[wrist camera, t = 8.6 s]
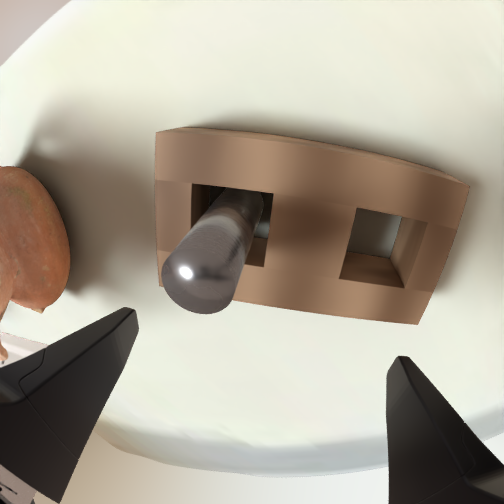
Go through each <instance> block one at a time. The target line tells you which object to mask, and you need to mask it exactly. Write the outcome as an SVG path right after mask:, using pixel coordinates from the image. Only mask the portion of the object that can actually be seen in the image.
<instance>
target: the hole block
mask: <svg viewBox="0 0 504 504" xmlns="http://www.w3.org/2000/svg"><path fill="white" fill-rule="evenodd" d="M210 185H212V186H221V187H229V188H237V189H245V190H253V191H260V192H267V193H274V196H273V204H272V211H271V219H270V226H269V234H268V239H264V238H257V237H254V238H253V241H252V244H251V246H250V249H249V252H248V255H247V258H246V261H245V264H244V267H243V270H242V273H241V276H240V279H239V282H238V285H237V288H236V291H235V293H234V296H233V299H232V300H235V301H240V302H246V303H252V304H258V305H264V306H271V307H277V308H284V309H290V310H297V311H304V312H311V313H318V314H326V315H333V316H341V317H349V318H357V319H366V320H375V321H384V322H393V323H404V324H414V325H418V323H419V321H420V319H421V317H422V315H423V313H424V311H425V309H426V307H427V305H428V303H429V300H430V298H431V296H432V294H433V291H434V289H435V287H436V285H437V282H438V280H439V277H440V275H441V273H442V270H443V268H444V265H445V262H446V260H447V257H448V255H449V252H450V249H451V246H452V244H453V241H454V238H455V235H456V232H457V229H458V226H459V223H460V220H461V216H462V213H463V210H464V206H465V203H466V199H467V196H468V192H469V188H470V186H468V185H467V184H465V183H463V182H461V181H459V180H457V179H456V178H454V177H452V176H450V175H448V174H446V173H444V172H442V171H439V170H436V169H433V168H429V167H426V166H423V165H419V164H416V163H412V162H408V161H405V160H401V159H397V158H393V157H389V156H385V155H381V154H377V153H373V152H368V151H364V150H359V149H354V148H350V147H345V146H340V145H334V144H329V143H324V142H318V141H312V140H306V139H299V138H293V137H286V136H278V135H271V134H262V133H253V132H244V131H233V130H221V129H206V128H187V127H181V128H176V129H170V130H165V131H160V132H156V146H155V217H156V243H157V261H158V275H159V286H161V287H164V286H163V283H162V278H161V271H162V267H163V264H164V262H165V260H166V259H167V258H168V256H169V255H170V254H171V253H172V251H173V250H174V249H175V248H176V247H177V245H178V244H179V243H180V242H181V240H182V239H183V238H184V237H185V236H186V234H187V233H188V232H189V231H190V230H191V228H192V227H193V226H194V225H195V224H196V223H197V221H198V220H199V219H200V218H201V217H202V216H203V214H204V213H205V212H206V211H207V210H208V209H209V200H210ZM357 207H358V208H363V209H368V210H373V211H378V212H383V213H388V214H392V215H397V216H402V219H401V223H400V226H399V230H398V233H397V237H396V240H395V243H394V246H393V250H392V253H391V256H390V259H388V258H382V257H376V256H370V255H364V254H358V253H352V252H346V250H347V246H348V242H349V238H350V234H351V230H352V226H353V222H354V218H355V214H356V209H357Z"/></svg>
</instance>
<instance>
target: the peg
mask: <svg viewBox="0 0 504 504" xmlns="http://www.w3.org/2000/svg"><path fill="white" fill-rule="evenodd" d="M263 207H264V202H263V198H262V195H261V194H260V192H259V191H253V190H245V189H237V188H229V187H227V188H226V189H225V190H224V191H223V193H222V194H221V195H220V196H219V197H218V198H217V199H216V201H215V202H214V203H213V204H212V205H211V206H210V207H209V209H208V210H207V211H206V212H205V213H204V214H203V216H202V217H201V218H200V219H199V220H198V221H197V223H196V224H195V225H194V226H193V227H192V228H191V230H190V231H189V232H188V233H187V234H186V236H185V237H184V238H183V239H182V240H181V242H180V243H179V244H178V245H177V247H176V248H175V249H174V250H173V251H172V253H171V254H170V255H169V256H168V258H167V259H166V260H165V262H164V264H163V267H162V271H161V278H162V283H163V286H164V288H165V290H166V292H167V294H168V295H169V296H170V298H171V299H172V300H173V301H174V302H175V303H177V304H178V305H179V306H181V307H182V308H184V309H186V310H188V311H191V312H194V313H199V314H212V313H216V312H219V311H221V310H223V309H224V308H226V307H227V306H228V305H229V304H230V302H231V301H232V299H233V296H234V293H235V291H236V288H237V285H238V282H239V279H240V276H241V273H242V270H243V267H244V264H245V261H246V258H247V255H248V252H249V249H250V246H251V244H252V241H253V238H254V235H255V232H256V229H257V226H258V223H259V220H260V217H261V214H262V211H263Z"/></svg>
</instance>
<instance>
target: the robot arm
mask: <svg viewBox="0 0 504 504" xmlns="http://www.w3.org/2000/svg"><path fill="white" fill-rule="evenodd" d="M138 331H139V326H138V320H137V314H136V311H135V310H134V309H131V308H127V307H123V308H121V309H119V310H117V311H115V312H113V313H111V314H109V315H107V316H105V317H103V318H101V319H100V320H98V321H96V322H94V323H92V324H90V325H88V326H86V327H84V328H82V329H80V330H78V331H76V332H74V333H72V334H70V335H68V336H66V337H64V338H62V339H60V340H58V341H57V342H55V343H53V344H51V345H49V346H47V347H46V348H43V349H41V350H39V351H37V352H35V353H33V354H31V355H29V356H27V357H25V358H22V359H20V360H18V361H15V362H13V363H10V364H8V365H5V366H3V367H0V504H35V503H34V500H33V497H34V495H35V493H36V491H38V492H40V493H42V494H43V495H45V496H46V497H48V498H50V499H51V500H53V501H55V502H57V503H58V504H59V503H60V502H61V500H62V497H63V495H64V492H65V490H66V488H67V485H68V483H69V481H70V478H71V476H72V474H73V472H74V469H75V467H76V465H77V463H78V459H79V458H80V455H81V453H82V451H83V449H84V447H85V445H86V443H87V440H88V439H89V436H90V434H91V432H92V430H93V428H94V426H95V424H96V422H97V420H98V418H99V416H100V414H101V412H102V410H103V408H104V406H105V404H106V402H107V400H108V398H109V396H110V394H111V392H112V390H113V388H114V386H115V384H116V382H117V381H118V379H119V377H120V375H121V373H122V371H123V369H124V367H125V364H126V362H127V359H128V357H129V354H130V352H131V349H132V347H133V344H134V342H135V339H136V337H137V334H138ZM386 379H387V384H386V423H387V438H388V462H389V504H504V465H503V464H502V463H501V462H500V461H499V460H498V458H496V456H494V454H493V453H492V452H491V451H490V450H489V449H488V448H487V447H486V446H485V445H484V444H483V443H482V442H481V441H480V439H479V438H478V437H477V436H476V435H475V434H474V433H473V431H472V430H471V429H470V428H469V427H468V425H467V424H466V423H464V421H463V419H462V418H461V417H460V416H459V414H458V413H457V412H456V411H455V410H454V408H453V407H452V406H451V405H450V404H449V403H448V401H447V400H446V399H445V398H444V397H443V395H442V394H441V393H440V392H439V391H438V390H437V388H436V387H435V386H434V385H433V384H432V383H431V381H430V380H429V379H428V378H427V377H426V376H425V375H424V373H423V372H422V371H421V370H420V369H419V368H418V367H417V366H416V364H415V363H414V362H413V361H412V360H411V359H410V358H409V357H407V356H398V357H396V359H395V360H394V362H393V364H392V365H391V367H390V369H389V370H388V373H387V378H386Z"/></svg>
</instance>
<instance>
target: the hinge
mask: <svg viewBox="0 0 504 504" xmlns="http://www.w3.org/2000/svg"><path fill="white" fill-rule="evenodd" d="M0 341H1V344H2V346H3V347H4V348H5V349H6V350H7V353H8V359H7V360H3V361H0V367H3V366H5V365H8V364H10V363H13V362H15V361H18V360H20V359H22V358H25V357H27V356H29V355H31V354H33V353H35V352H37V351H39V350H41V349H43V348H46V347H47V346H49V345H47V344H43V343H39V342H35V341H31V340H28V339H24V338H21V337H17V336H14V335H10V334H7V333H4V332H2V333H1V336H0Z"/></svg>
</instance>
